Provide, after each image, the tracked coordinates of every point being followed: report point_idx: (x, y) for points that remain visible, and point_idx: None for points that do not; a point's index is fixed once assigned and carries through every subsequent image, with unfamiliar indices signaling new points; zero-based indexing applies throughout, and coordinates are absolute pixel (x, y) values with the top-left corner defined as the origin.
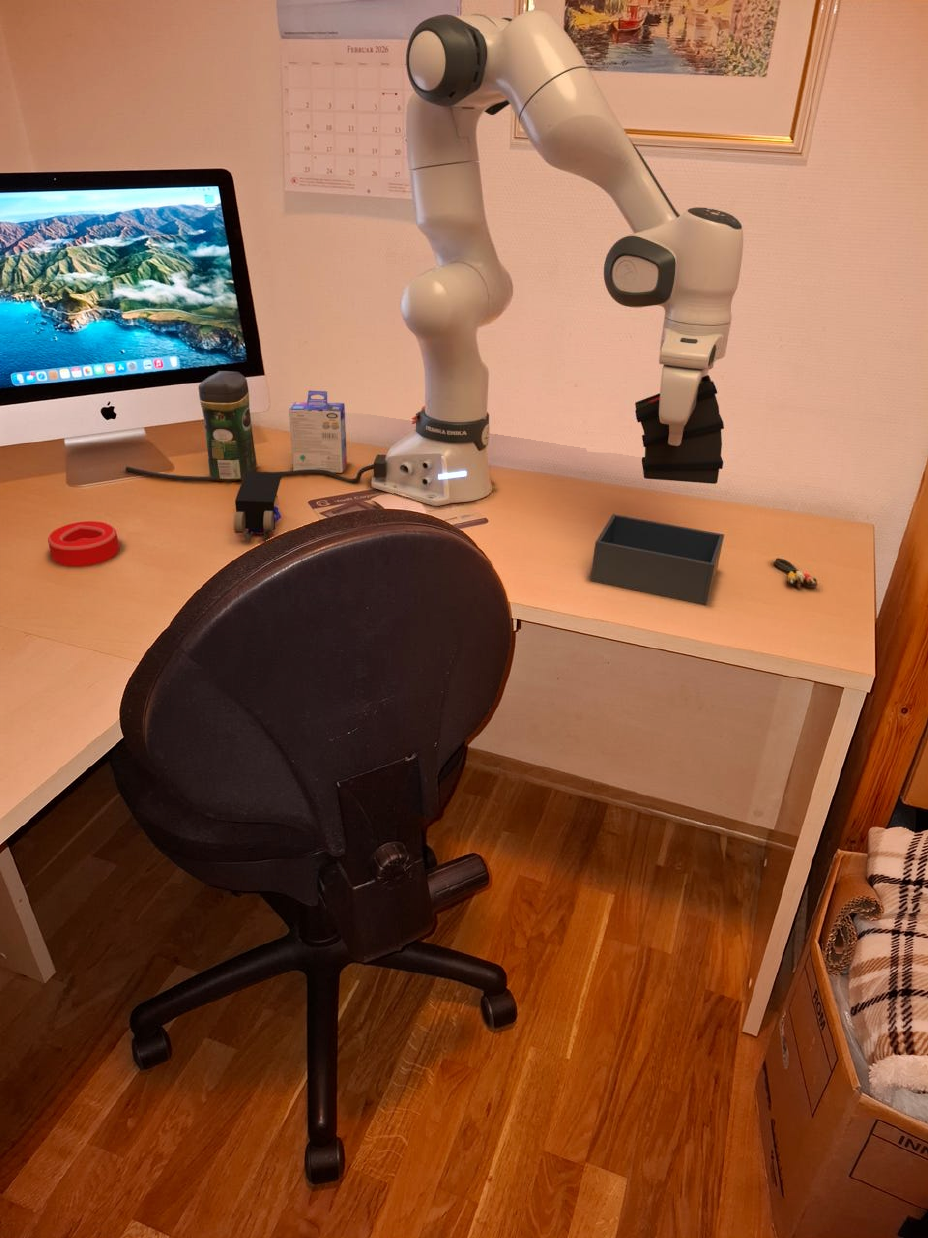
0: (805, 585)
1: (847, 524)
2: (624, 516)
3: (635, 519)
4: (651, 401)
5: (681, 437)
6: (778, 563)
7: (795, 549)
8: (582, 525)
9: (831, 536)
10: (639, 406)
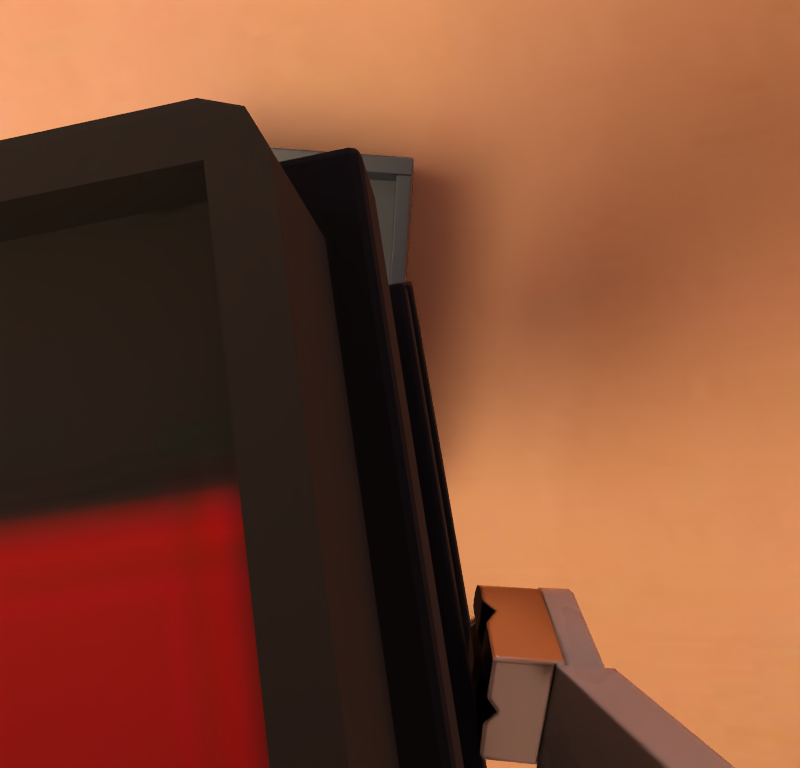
0: None
1: (797, 765)
2: (404, 212)
3: (393, 261)
4: (119, 567)
5: None
6: None
7: (602, 657)
8: (603, 28)
9: (709, 730)
10: (66, 255)
